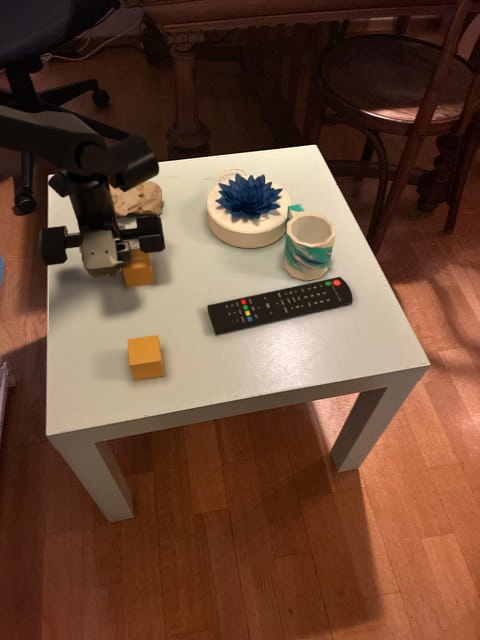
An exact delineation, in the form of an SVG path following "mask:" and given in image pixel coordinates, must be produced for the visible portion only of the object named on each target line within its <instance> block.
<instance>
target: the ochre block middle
mask: <svg viewBox="0 0 480 640" xmlns="http://www.w3.org/2000/svg"><path fill="white" fill-rule="evenodd" d="M131 254H132V263H127V265H126V266H127V268H122V272H123V275H124V279H125V283H126V287H127V288H131V287H139V286H147V285H154V284H155V281H154V273H153V263H152V260H151V253H144V252H142V251H140V247H134V248H131Z"/></svg>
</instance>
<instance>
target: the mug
mask: <svg viewBox="0 0 480 640" xmlns="http://www.w3.org/2000/svg"><path fill="white" fill-rule="evenodd" d="M335 226H336V225H335V223H334V222H333V221H331V220H330V219H329V217H327V216H326V215H323V214H320V213H317V212H316V213H315V212H312V211H309V212H307V211H306V210H305V208H304V205H303V204H302V203H298V204H291V206H288V212H287V223H286V228H287V230H286V232H285V242H284V252H283V269H285V271H286V272H287V273H288V274H289V275H290V276H291V277H292V278H295V279H298V280H302V281H305V282H306V281H312V280H316V279H320V278H322V277H323V276H324V274H326V273H327V272H328V270H329V267H330V263H331V258H332V253H333V248H334V245H335V240H336V227H335Z"/></svg>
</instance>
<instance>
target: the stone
mask: <svg viewBox="0 0 480 640" xmlns="http://www.w3.org/2000/svg"><path fill="white" fill-rule="evenodd" d="M109 186H110V190H111V195H112V199H113V203H114V207H115V211H116V215H117V217H121V218H122V217H126V216H127V215H128V214H139V215H154V216H155V215H157V216H159V215H161V212H162V202H163V190H162V188H161V187H160V185H159V184H158V183H157V182H154V181H151V180H148V181H146V182H144V183H142V184H140V185H138V186H136V187H134V188H133V189H131V190H129V191H127V192H123V191H121V190H120V189H119V188H117V189H114V188H113V187H112V186H111V185H110V184H109Z"/></svg>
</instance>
